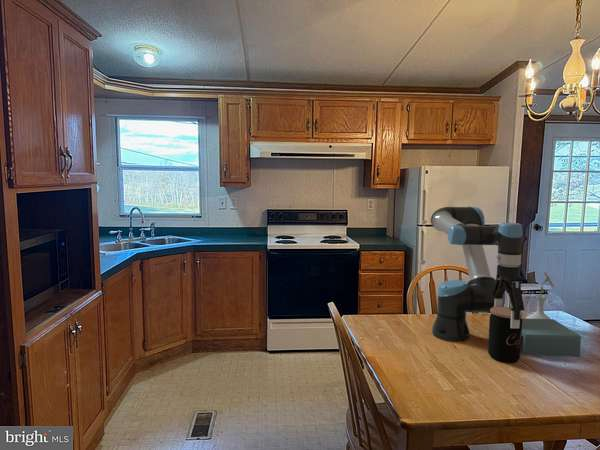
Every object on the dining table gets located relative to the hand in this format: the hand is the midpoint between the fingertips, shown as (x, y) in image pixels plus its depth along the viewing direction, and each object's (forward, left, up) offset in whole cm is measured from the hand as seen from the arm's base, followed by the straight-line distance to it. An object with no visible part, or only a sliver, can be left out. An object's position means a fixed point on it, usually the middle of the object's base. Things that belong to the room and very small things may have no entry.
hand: (505, 321), depth 141 cm
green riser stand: (+19, +12, -14) cm, 27 cm away
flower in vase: (+32, +36, -14) cm, 50 cm away
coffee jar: (0, 0, -14) cm, 14 cm away
